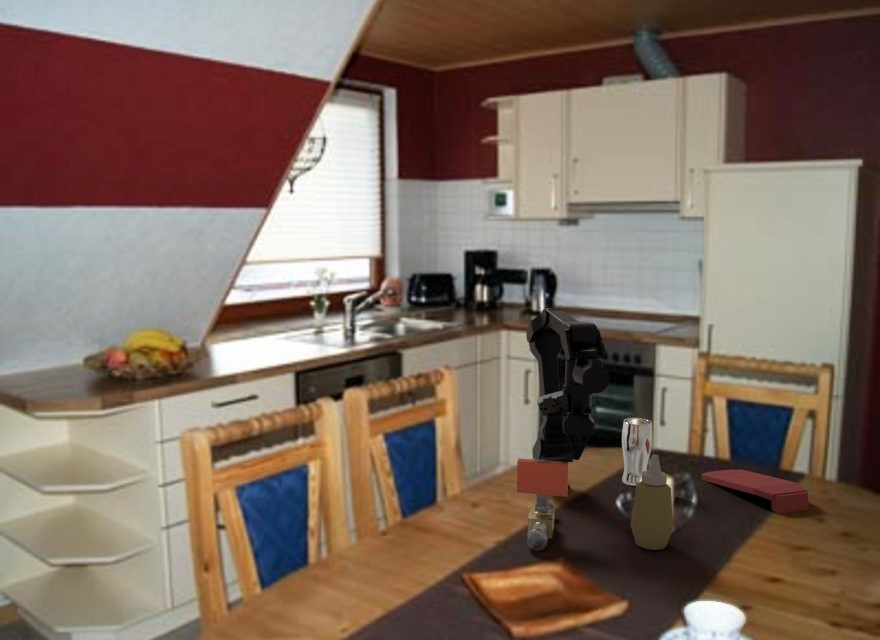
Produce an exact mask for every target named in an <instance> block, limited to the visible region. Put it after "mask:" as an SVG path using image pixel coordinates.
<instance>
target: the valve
mask: <svg viewBox="0 0 880 640" xmlns="http://www.w3.org/2000/svg"><path fill="white" fill-rule="evenodd" d="M536 503H537V501H536V502H535V504H536ZM547 504H548V513H536V512H535V507H530V510H529V514H528V517H527V536H526V544H527V546H528V547H529V548H530V549H531V550H533V551H537V552H538V551H543V550H544V549H545V548H546V546H547V545H548V541H549V539H551V540H552V539H553V534H554V530H555V529H554V528H555V503H554V501H553V500H552V499H550V498H549V497H547Z"/></svg>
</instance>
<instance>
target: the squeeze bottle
mask: <svg viewBox="0 0 880 640" xmlns="http://www.w3.org/2000/svg"><path fill="white" fill-rule="evenodd" d="M667 478H668V475H667V474H666V473H665V472H663V471H662V468H661V464H660V458H659V454H651V457H650V462H649V465H648V467H647V470H646V471H643V472H642V481H641V482H639V483H638V484H637V485H636V486H635V492H634V499H633V506H632V510H631V518H630V524H629V526H630V528H631V531H632V534H633V538H634V542H635V545H637V546H638V547H640V548H643V549H645V550H651V551H652V550H653V551H654V550H655V551H658V550H663V549H666V547H667V545H668V543H669V540H670V538H671V536H672V533H673V531H674V517H673V502H672V499H673V498H672V488H671V486H670V485H669V484H668V483H667V481H668V479H667Z"/></svg>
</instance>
